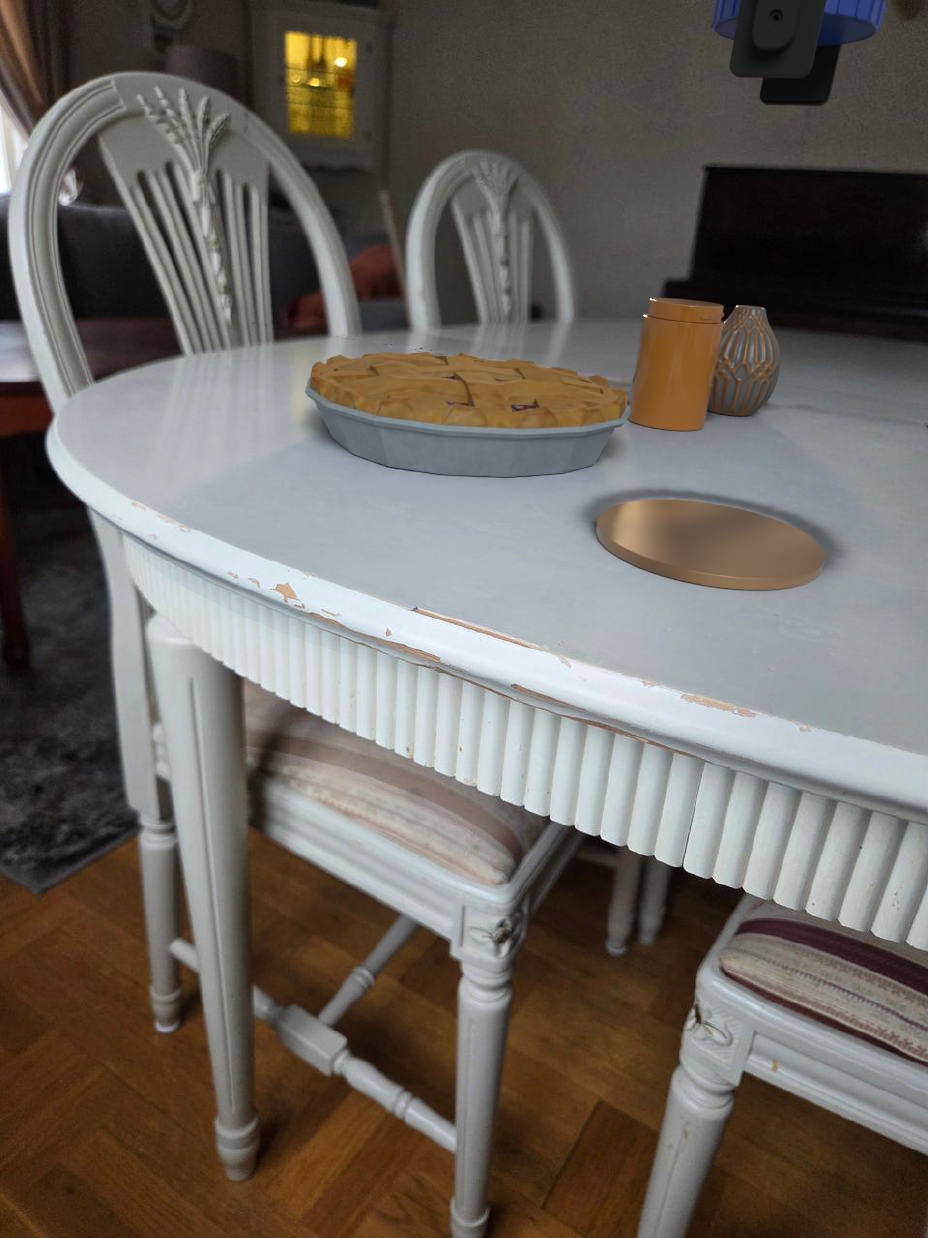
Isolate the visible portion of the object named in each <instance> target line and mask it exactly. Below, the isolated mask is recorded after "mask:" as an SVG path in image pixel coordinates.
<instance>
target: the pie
mask: <svg viewBox="0 0 928 1238" xmlns="http://www.w3.org/2000/svg"><path fill="white" fill-rule="evenodd" d="M304 393H305V394H306V395H307V397H308V398H309V399H311V400H312V401H314V403H315V405H316V407H317V409H318V411H319V413H320V415H321V417H322V420H323V421H324V424H325V426H326V428H327V430H328V433H329V434H330V436H331V438H332V440H334V441H335V442H336V443H338V444H339V445H340V446H342V448H344V449H345V450H346V451H348V452H349V453H350V454H352V455H354V456H357V457H360V458H363V459H365V460H369V461H371V462H374V463H377V464H380V465H383V466H385V467H390V468H394V469H395V468H396V469H402V470H408V471H409V470H410V471H416V472H423V473H429V474H436V475H444V476H445V475H446V476H447V475H448V476H468V477H469V476H473V477H493V478H494V477H496V478H514V477H526V476H542V475H555V474H557V475H558V474H565V473H568V472H572V471H575V470H576V471H577V470H579V469H583V468H587V467H591V466H595V464H596V462H597V460H598V459H599V456H600V455H601V454H602V451H603V450H604V448H605V447H606V445H607V444H608V441H609V440H610V438H611V436H612V434H613V433H614V432H615V429H618V428H621V427H622V426H623V425H625V424H626V422H627V421H628V416H629V415H630V413H631V408H630V406H629V404H628V401H627V400H628V399H627V391H626V390H625V389H623V388H620V387H619V388H618V387H617V388H615V387H614V388H611V387H610V383H609V379H608V378H606V377H604V376H602V375H600V374H596V375H593V376H590V377H585V376H583V375H579V373H578V372H577V371H576V370H572V369H569V368H564V367H559V366H558V367H545V366H541V365H539V364H538V365H537V364H535V363H534V361H529V360H524V359H523V360H522V359H521V360H520V359H516V358H515V359H514V358H512V359H509V360H497V359H495V360H494V359H486V358H481V357H477V356H473V355H470V354H466V353H462V352H459V353H457V354H456V355H455V356H453V355H435V354H434V353H431V352H429V351H425V352H411V353H399V352H398V353H397V352H384V351H383V352H382V351H381V352H377V353H374V352H373V353H364V354H363V355H362V356H361V357H355V358H349V357H347V356H345V355H342V354H338V355H334V356H331V357H329V358H328V359H326V362H325V363H324V362H322V361H316V362H315V363H314V364H313V365H312V366H311V371H310V376H309V378H308V380H307V384H306V386H305V390H304Z"/></svg>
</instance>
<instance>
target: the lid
mask: <svg viewBox="0 0 928 1238" xmlns="http://www.w3.org/2000/svg"><path fill="white" fill-rule="evenodd" d="M885 1H886V0H827V1H826V6H825V10H824V15H823V20H822V24H821V29H820V33H819V38H818V42H817V47H822V46H834V45H842V46H843V45H844V46H845V45H848V44H853V43H857V42H858V43H859V42H861V41H865V40H867V39H870V38H872V37H873V36H876V34H877V33H878V31H880V30H881V28H882V23H883V19H884V15H885V11H886V7H887V2H885ZM740 4H741V0H715V2H714V8H713V15H712V19H711V26H710V29H712V30H713V31H714V33H716V34H717V35H718V36H720V37H723V38H726V39H728V40H731V41H734V37H735V32H736V26H737V20H738V15H739V9H740Z"/></svg>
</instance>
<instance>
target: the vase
mask: <svg viewBox="0 0 928 1238" xmlns="http://www.w3.org/2000/svg"><path fill="white" fill-rule="evenodd" d="M723 322H724V323H725V324H724V329H723V334H722V339H721V344H720V349H719V354H718V359H717V364H716V369H715V374H714V379H713V384H712V389H711V394H710V399H709V405H708V410H707V411H710V412H712V413H714V414H715V413H716V414H720V415H726V416H733V417H748V416H751V415H753V414H754V413H756V412H758V411H759V410H760V409H762V407H763V406H764V405H766V404H767V402H768V401H769V399H770V398H771V397H772V394H773V393H774V391H775V389H776V386H777V383H778V380H779V376H780V371H781V350H780V345H779V342H778V340H777V338H776V336H775V333H774V331H773V329H772V327H771V325H770V323H769V320H768V315H767V310H766V308H765V307H762V306H754V305H743V304H742V305H741V304H739V305H736V306H735V307H734V309H733V311H732V312H731V314H730V315H729V316H728V317H727V318H726V319H725V320H724V321H723Z"/></svg>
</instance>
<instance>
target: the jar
mask: <svg viewBox="0 0 928 1238" xmlns="http://www.w3.org/2000/svg"><path fill="white" fill-rule="evenodd" d="M647 302H648V309H647V313H645V314H643V315H642V321H641V328H640V335H639V341H638V347H637V353H636V358H635V359H636V360H635V366H634V372H633V378H632V385H631V391H630V397H629V403H628V406H630V408H631V413H630V415H629V416H628V418H627V420H629V421H630V422H632V423H634V424H637V425H640V426H643V427H648V428H653V429H659V430H666V431H675V432H690V431H691V432H692V431H699V430H702V429H704V427H705V423H706V418H707V414H708V411H709V410H708V405H709V399H710V394H711V389H712V384H713V379H714V374H715V369H716V364H717V359H718V354H719V349H720V344H721V339H722V334H723V329H724V324H725V323H724V322H725V321H722V319H723V318H725V317H724V316H725V313H724V308H725V307H724V305H723V304H720V303H716V302H715V303H714V302H709V301H703V300H694V299H684V298H672V297H671V298H669V297H652V298H650V299H648V301H647Z"/></svg>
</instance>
